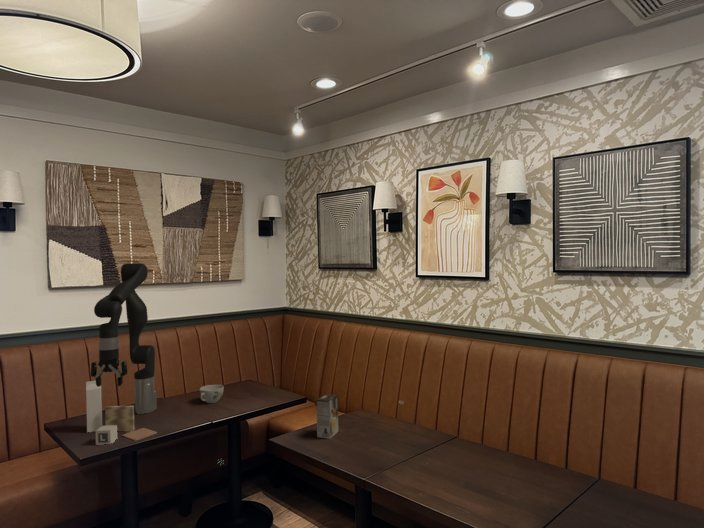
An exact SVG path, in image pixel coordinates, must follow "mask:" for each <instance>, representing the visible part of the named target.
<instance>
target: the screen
mask: <svg viewBox="0 0 704 528" xmlns="http://www.w3.org/2000/svg"><path fill="white" fill-rule="evenodd" d="M104 411H105V413H104V415H105V417H104V418H105V422H104V423H105V426H107V425H117V431H125V432H124V434H127V433H130V432H133V431H136V430H137V429H136V426H135V405H106V406H105V407H104Z"/></svg>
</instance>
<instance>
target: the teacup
mask: <svg viewBox="0 0 704 528" xmlns="http://www.w3.org/2000/svg"><path fill="white" fill-rule="evenodd" d="M224 388H225V385H223V384H209V385H208V384H206V385H204V386H202V387H200V388H199V394H200V400H201V401H203V402H206V403H207V404H216V403H218V402H219V401H220V399H222V397H223V394H224V390H225V389H224Z"/></svg>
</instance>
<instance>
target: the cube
mask: <svg viewBox="0 0 704 528" xmlns="http://www.w3.org/2000/svg"><path fill="white" fill-rule="evenodd" d="M116 439H117V440H118V432H117V425H107V426H106V425H102V427H100V428H99V429H97V430H96V431H95V445H96V446H105V445H104V444H111V443H112V444H113V443H114V442H116V441H117V440H116ZM115 440H116V441H115ZM112 444H111V445H112Z"/></svg>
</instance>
